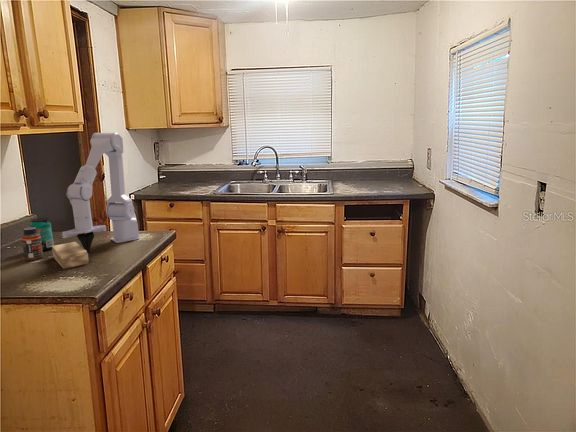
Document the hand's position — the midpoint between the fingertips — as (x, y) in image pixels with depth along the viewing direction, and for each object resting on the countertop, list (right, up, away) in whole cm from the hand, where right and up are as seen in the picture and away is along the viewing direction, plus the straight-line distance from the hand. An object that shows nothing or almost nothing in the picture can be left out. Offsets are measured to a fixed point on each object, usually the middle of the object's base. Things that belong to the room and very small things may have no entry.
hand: (87, 253), depth 159 cm
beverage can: (-22, 0, +11) cm, 24 cm away
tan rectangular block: (-5, -2, -3) cm, 6 cm away
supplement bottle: (-20, -2, 0) cm, 20 cm away
